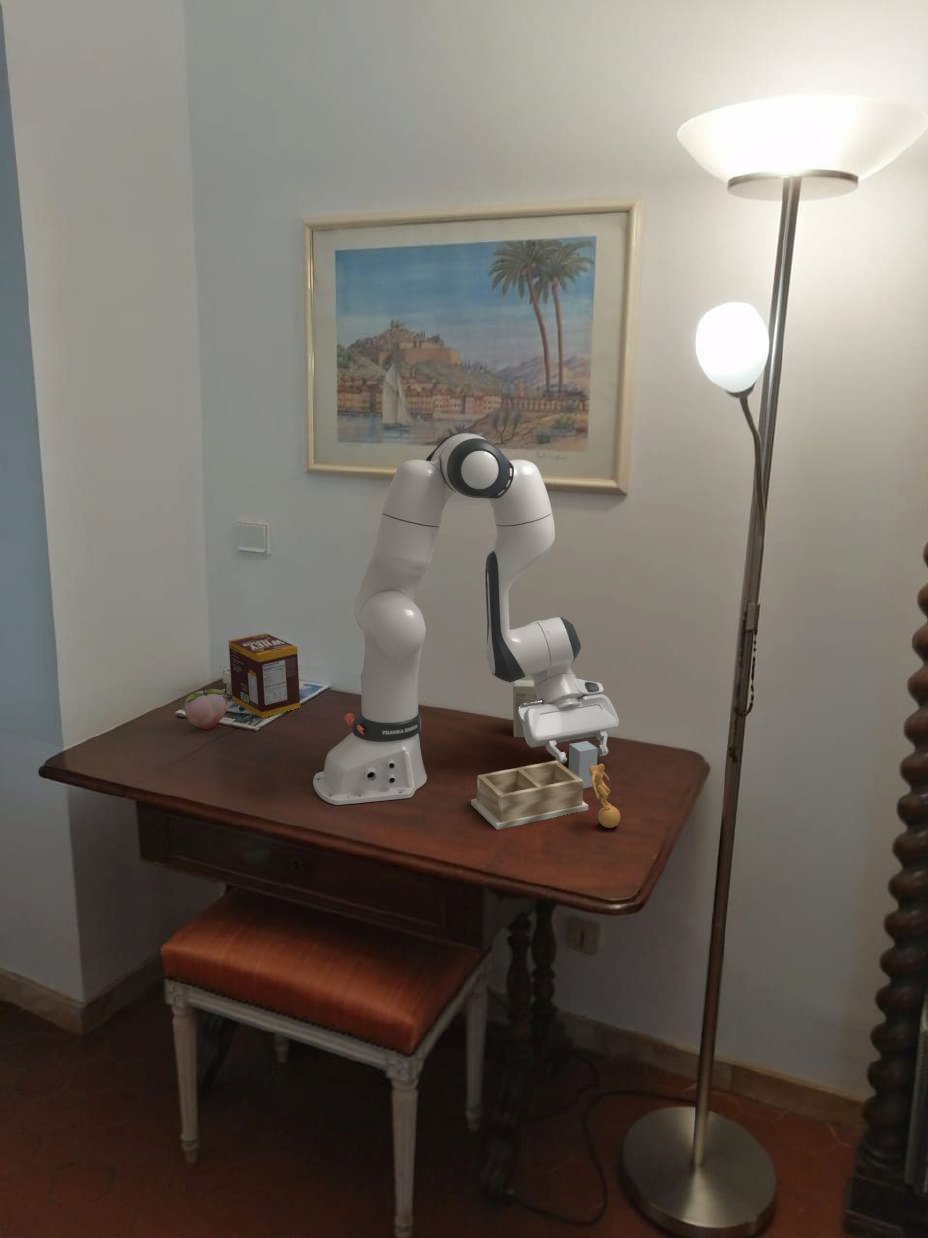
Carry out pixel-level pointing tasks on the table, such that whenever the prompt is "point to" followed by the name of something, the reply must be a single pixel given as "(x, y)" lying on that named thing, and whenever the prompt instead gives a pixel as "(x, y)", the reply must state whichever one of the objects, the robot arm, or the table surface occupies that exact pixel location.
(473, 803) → the wooden divided tray
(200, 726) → the decorative fruit
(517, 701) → the skincare box
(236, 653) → the supplement box
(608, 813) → the figurine
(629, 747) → the table surface
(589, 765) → the grey peg
